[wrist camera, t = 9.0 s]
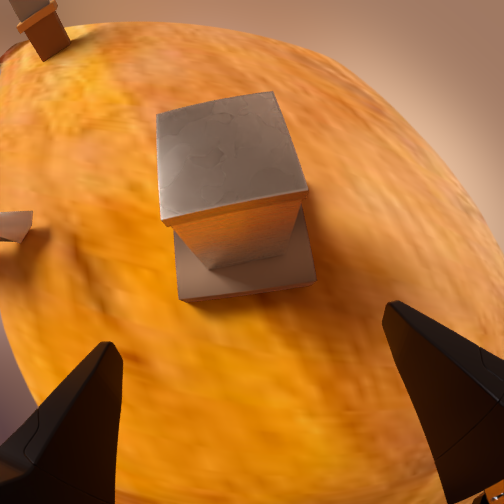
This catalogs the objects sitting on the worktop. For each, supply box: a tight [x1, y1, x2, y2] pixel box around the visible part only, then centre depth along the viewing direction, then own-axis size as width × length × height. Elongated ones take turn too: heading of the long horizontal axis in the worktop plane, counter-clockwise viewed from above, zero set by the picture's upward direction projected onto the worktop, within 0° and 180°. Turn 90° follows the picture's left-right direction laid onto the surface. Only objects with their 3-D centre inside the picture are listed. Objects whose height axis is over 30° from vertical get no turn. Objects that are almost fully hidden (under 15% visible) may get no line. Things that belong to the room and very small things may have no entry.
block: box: [174, 204, 317, 303], centre depth 22 cm, size 10×10×3 cm
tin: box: [156, 91, 309, 270], centre depth 16 cm, size 6×6×10 cm
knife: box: [9, 0, 70, 62], centre depth 20 cm, size 8×4×30 cm, turn 116°
